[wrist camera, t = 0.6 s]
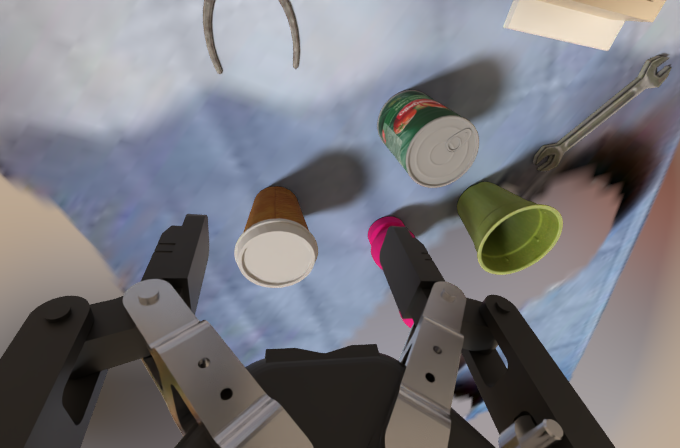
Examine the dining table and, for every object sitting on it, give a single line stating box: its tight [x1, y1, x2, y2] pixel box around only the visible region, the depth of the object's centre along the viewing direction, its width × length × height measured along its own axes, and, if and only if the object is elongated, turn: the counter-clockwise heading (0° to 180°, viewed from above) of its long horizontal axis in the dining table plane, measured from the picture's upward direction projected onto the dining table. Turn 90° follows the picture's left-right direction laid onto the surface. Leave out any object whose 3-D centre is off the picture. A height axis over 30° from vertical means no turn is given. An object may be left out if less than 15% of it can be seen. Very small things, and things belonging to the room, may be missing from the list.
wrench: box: [533, 56, 671, 171], centre depth 45 cm, size 5×20×1 cm, turn 136°
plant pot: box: [457, 182, 563, 275], centre depth 46 cm, size 12×12×11 cm
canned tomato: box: [377, 90, 479, 188], centre depth 36 cm, size 8×8×11 cm
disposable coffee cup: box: [235, 186, 318, 288], centre depth 40 cm, size 10×10×12 cm
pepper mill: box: [368, 216, 415, 328], centre depth 43 cm, size 7×7×20 cm
